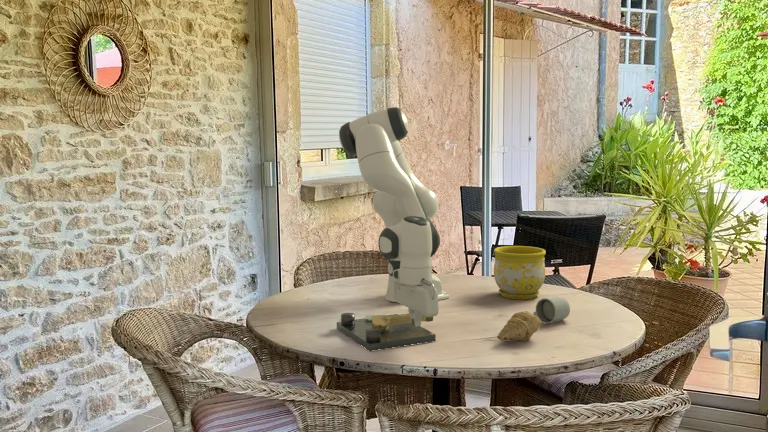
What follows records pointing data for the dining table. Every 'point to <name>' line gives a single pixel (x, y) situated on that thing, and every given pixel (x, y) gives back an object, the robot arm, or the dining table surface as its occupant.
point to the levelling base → (382, 333)
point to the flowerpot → (519, 271)
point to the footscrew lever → (393, 321)
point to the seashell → (520, 327)
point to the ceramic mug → (552, 309)
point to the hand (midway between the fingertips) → (415, 324)
